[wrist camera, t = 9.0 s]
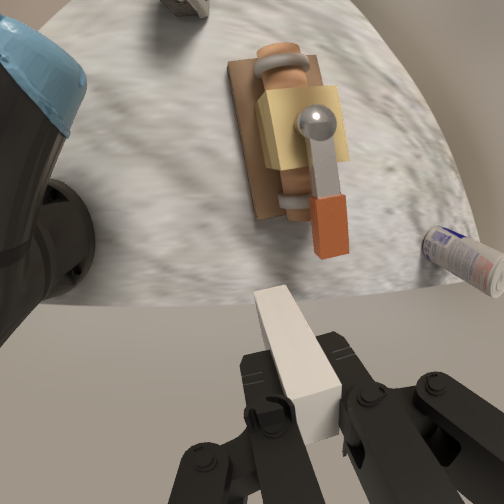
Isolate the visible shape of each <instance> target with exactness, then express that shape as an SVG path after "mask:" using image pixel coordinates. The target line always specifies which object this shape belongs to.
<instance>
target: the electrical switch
mask: <svg viewBox="0 0 504 504" xmlns="http://www.w3.org/2000/svg"><path fill="white" fill-rule="evenodd" d="M160 1H161V2H162V3H163V4H164V5H166V6H167V7H168V8H169V9H170V10H171V11H172V12H173V13H174V14H175V15H176V16H177V17H179V16H184V15H192V14H198V15H199V17H200V18H204V17H208V16H209V0H178V2H176V1H177V0H160Z"/></svg>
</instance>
